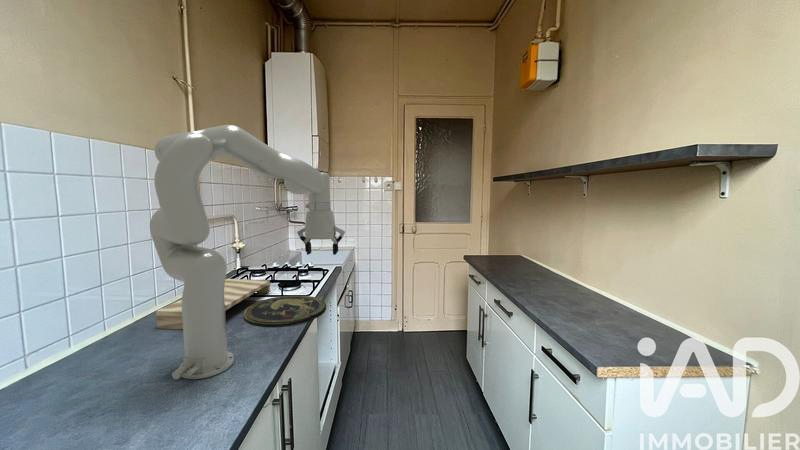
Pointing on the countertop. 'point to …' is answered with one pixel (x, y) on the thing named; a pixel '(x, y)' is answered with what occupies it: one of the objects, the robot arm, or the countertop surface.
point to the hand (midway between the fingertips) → (322, 253)
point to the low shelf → (232, 295)
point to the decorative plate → (284, 311)
